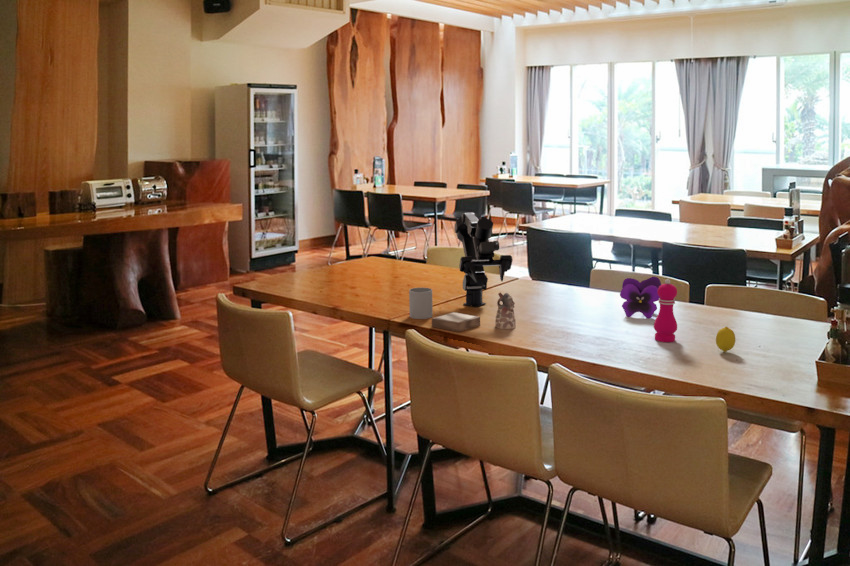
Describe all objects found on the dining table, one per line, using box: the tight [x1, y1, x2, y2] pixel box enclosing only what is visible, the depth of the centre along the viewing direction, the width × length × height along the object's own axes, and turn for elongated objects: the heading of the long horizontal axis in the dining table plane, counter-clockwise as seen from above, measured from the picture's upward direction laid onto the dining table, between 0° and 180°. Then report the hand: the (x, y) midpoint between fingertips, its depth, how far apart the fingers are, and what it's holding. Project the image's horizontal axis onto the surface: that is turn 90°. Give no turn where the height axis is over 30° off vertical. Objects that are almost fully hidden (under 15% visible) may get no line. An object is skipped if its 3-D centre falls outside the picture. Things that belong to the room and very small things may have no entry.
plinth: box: [431, 311, 481, 333], centre depth 269 cm, size 12×12×3 cm
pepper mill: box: [653, 278, 678, 343], centre depth 246 cm, size 7×7×20 cm
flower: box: [619, 276, 662, 319], centre depth 283 cm, size 15×15×14 cm
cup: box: [408, 287, 433, 320], centre depth 282 cm, size 8×8×10 cm
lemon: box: [715, 326, 736, 353], centre depth 233 cm, size 6×6×8 cm
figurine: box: [494, 291, 517, 330], centre depth 266 cm, size 7×7×12 cm
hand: (489, 281), depth 272 cm, fingers open, 9 cm apart
